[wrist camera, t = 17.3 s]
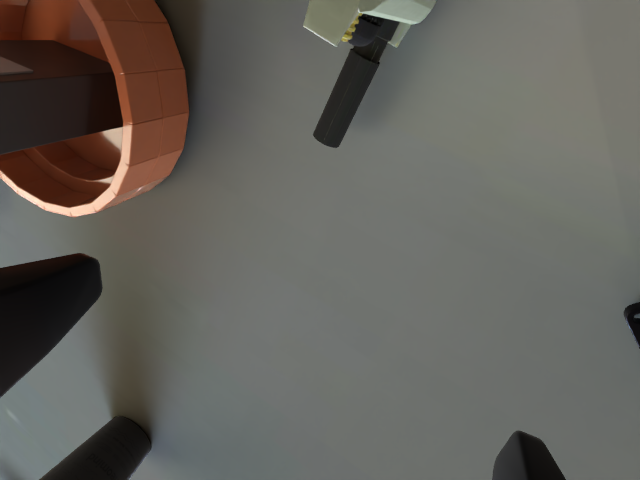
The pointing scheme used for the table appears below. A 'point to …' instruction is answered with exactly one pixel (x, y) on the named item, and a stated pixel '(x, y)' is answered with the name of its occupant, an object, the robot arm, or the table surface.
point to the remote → (53, 94)
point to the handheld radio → (358, 50)
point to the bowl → (134, 96)
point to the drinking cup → (105, 454)
